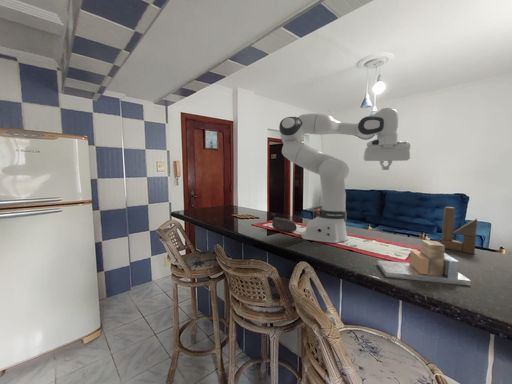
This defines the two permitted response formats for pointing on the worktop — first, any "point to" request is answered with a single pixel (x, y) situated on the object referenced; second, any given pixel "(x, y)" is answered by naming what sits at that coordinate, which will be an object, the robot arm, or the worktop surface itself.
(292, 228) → the perforated stone tool
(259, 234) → the worktop surface
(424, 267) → the block
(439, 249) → the beech block
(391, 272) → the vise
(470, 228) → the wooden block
